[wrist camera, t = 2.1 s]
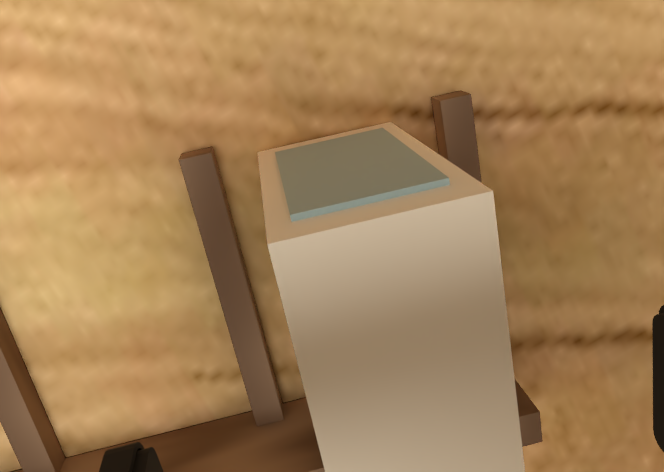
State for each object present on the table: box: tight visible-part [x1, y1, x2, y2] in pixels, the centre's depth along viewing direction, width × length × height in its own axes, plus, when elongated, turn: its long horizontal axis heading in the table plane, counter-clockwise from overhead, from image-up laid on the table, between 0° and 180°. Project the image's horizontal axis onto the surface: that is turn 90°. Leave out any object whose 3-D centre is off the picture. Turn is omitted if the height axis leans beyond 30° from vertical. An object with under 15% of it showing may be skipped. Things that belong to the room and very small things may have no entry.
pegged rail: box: [0, 91, 542, 472], centre depth 20 cm, size 26×11×4 cm, turn 101°
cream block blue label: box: [257, 122, 525, 472], centre depth 18 cm, size 4×8×9 cm, turn 11°
